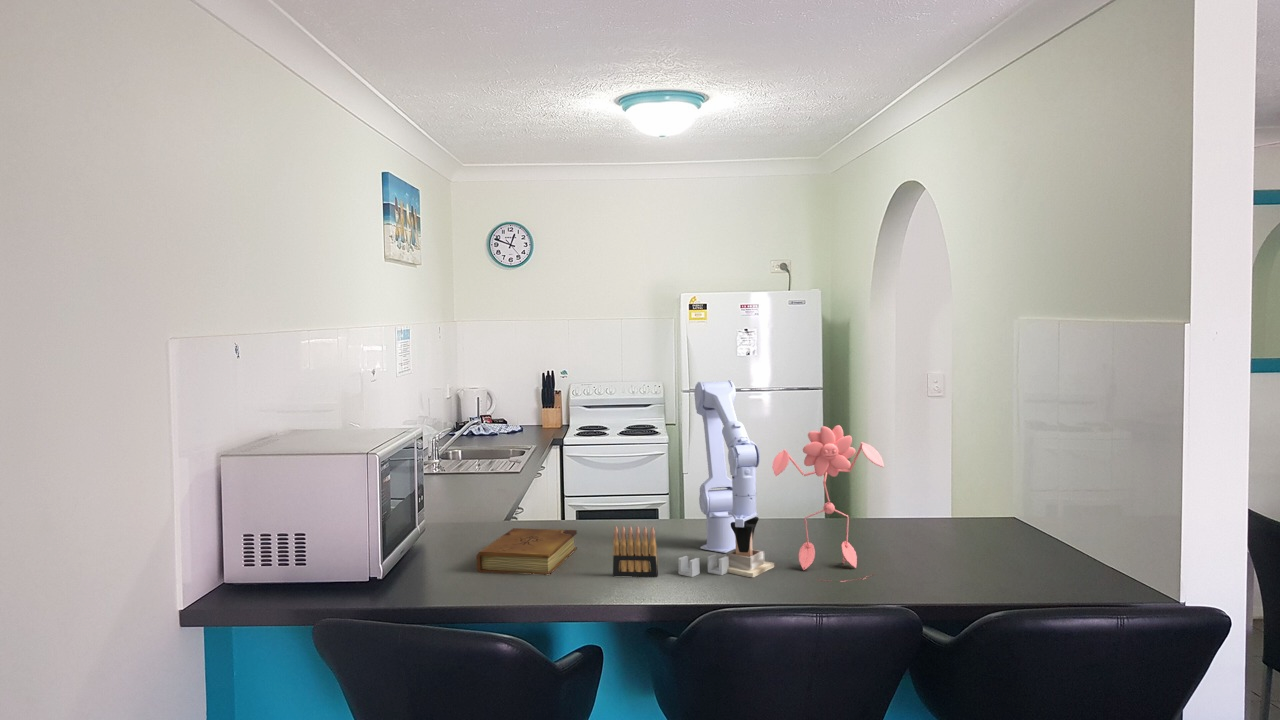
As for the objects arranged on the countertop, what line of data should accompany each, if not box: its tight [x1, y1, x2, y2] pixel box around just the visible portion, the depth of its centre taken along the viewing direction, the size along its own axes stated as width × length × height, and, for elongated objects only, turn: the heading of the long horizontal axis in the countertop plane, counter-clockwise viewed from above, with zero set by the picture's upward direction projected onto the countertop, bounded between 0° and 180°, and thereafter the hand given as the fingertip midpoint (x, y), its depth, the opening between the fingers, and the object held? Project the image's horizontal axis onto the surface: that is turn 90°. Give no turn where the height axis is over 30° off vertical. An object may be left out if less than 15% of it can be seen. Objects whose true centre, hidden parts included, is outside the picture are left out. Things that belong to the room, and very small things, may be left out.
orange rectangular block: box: [735, 534, 753, 557], centre depth 207 cm, size 4×4×6 cm
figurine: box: [772, 425, 885, 583], centre depth 202 cm, size 15×26×35 cm, turn 90°
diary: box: [476, 527, 578, 575], centre depth 219 cm, size 23×19×6 cm
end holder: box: [717, 549, 775, 578], centre depth 207 cm, size 10×10×4 cm
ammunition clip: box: [612, 525, 659, 578], centre depth 204 cm, size 11×2×12 cm, turn 82°
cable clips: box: [677, 553, 729, 578], centre depth 205 cm, size 8×9×4 cm
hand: (745, 549), depth 207 cm, fingers closed on orange rectangular block, 3 cm apart
